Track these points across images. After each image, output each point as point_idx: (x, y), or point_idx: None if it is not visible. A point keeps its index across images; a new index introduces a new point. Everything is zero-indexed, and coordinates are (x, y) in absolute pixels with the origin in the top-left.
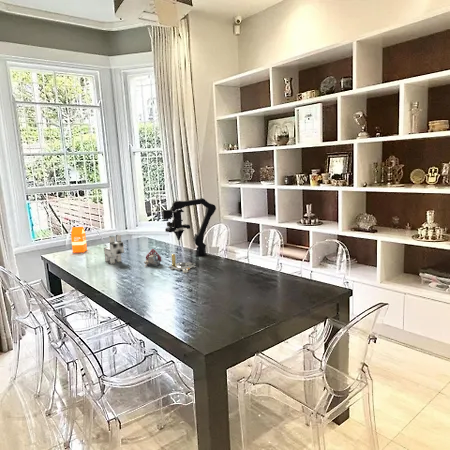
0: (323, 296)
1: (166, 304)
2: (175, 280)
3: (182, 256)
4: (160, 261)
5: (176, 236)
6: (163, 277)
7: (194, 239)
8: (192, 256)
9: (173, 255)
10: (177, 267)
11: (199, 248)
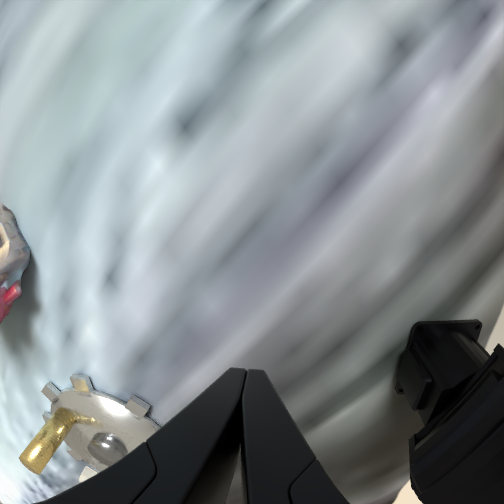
0: None
1: (6, 491)
2: None
3: (317, 240)
4: (8, 313)
5: (166, 426)
6: (8, 430)
7: (450, 480)
8: (371, 327)
9: (30, 467)
10: (75, 439)
11: (424, 424)
